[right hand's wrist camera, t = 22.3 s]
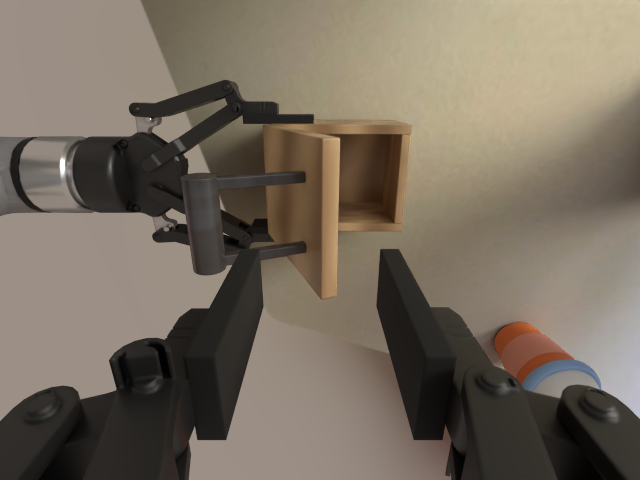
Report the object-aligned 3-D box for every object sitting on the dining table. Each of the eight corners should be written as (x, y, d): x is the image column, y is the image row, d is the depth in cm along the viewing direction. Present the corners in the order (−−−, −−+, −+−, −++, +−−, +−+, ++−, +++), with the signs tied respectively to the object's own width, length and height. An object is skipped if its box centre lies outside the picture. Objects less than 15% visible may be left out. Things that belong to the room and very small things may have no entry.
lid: (340, 137, 19) (176, 143, 16) (336, 296, 23) (202, 325, 20) (274, 124, 31) (171, 126, 28) (279, 232, 35) (188, 244, 32)
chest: (393, 120, 40) (412, 124, 31) (387, 206, 43) (401, 231, 35) (281, 119, 40) (269, 124, 31) (284, 205, 43) (274, 230, 35)
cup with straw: (478, 364, 53) (554, 486, 36) (489, 312, 49) (579, 420, 33) (538, 364, 53) (642, 485, 36) (553, 312, 49) (675, 420, 33)
